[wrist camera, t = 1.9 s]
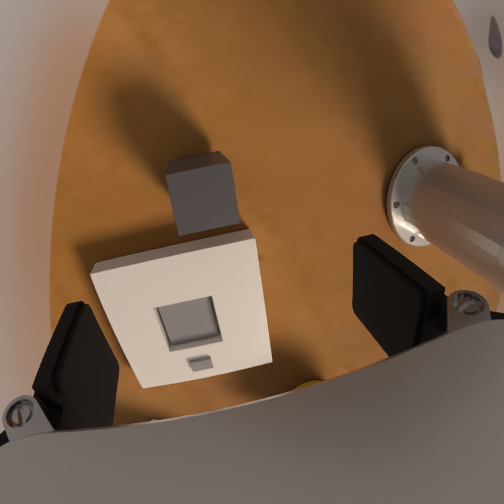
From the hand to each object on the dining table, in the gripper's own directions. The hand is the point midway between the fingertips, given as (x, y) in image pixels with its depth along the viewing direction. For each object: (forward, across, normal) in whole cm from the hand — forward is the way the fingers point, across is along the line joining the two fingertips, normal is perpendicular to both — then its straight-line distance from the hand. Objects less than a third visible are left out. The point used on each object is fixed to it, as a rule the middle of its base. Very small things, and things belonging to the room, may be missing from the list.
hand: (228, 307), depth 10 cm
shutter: (+19, +4, +14) cm, 24 cm away
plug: (+20, 0, 0) cm, 20 cm away
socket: (+20, +4, +14) cm, 25 cm away
